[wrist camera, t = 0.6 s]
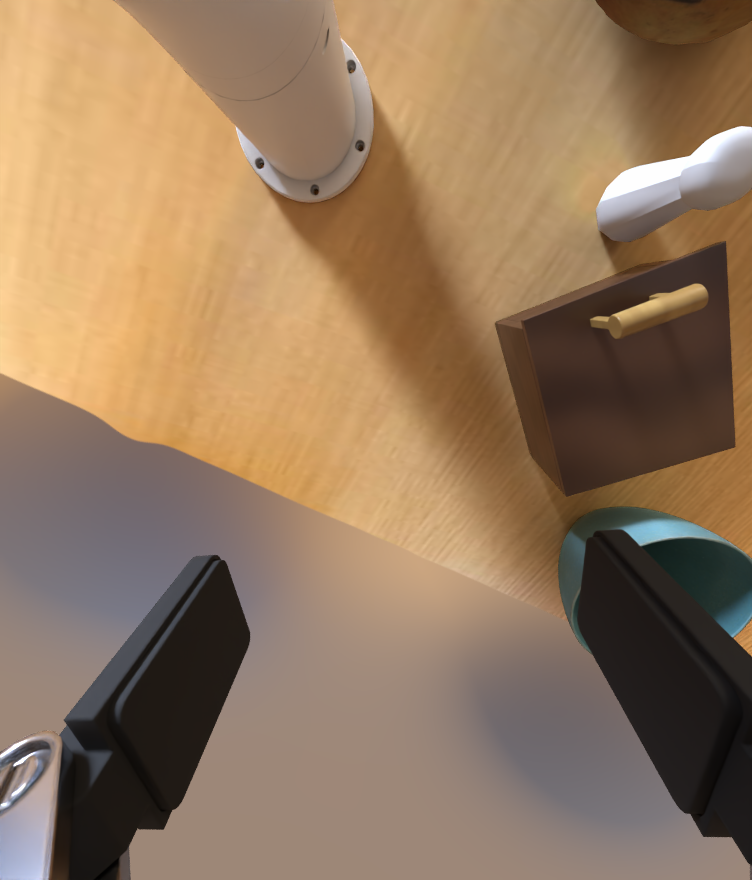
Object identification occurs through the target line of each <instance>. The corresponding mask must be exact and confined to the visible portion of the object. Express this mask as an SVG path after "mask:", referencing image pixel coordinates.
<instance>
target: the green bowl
mask: <svg viewBox="0 0 752 880" xmlns="http://www.w3.org/2000/svg"><path fill="white" fill-rule="evenodd" d="M615 529H622V530H624V531H626V532H627V533H628V534H629V535H630V536H631V537H632V538H633V539H634V540H635V541H636V542H637V543H638V544H639V545H640V546H641V547H642V548H643V549H644V550H645V551H646V552H647V553H648V554H649V555H650V556H651V557H652V558H653V559H654V560H655V561H656V562H657V563H658V564H659V565H660V566H661V567H662V568H663V569H664V570H665V571H666V572H667V573H668V574H669V575H670V576H671V577H672V578H673V579H674V580H675V581H676V582H677V583H678V584H679V585H680V586H681V587H682V588H683V589H684V590H685V591H686V592H687V593H688V594H689V595H690V596H691V597H692V598H693V599H694V600H695V601H696V602H697V603H698V604H699V605H700V606H701V607H702V608H703V609H704V610H705V611H706V612H707V613H708V614H709V615H710V616H711V617H712V618H713V619H714V620H715V621H716V622H717V623H718V624H719V625H720V626H721V627H722V628H723V629H724V630H725V631H726V632H727V633H728V634H729V635H730V636H731V637H732V638H734V637H735V636H736V635H737V634H738V633H740V632H741V631H742V630H743V629H744V628H745V627H746V625H747V624H748V623H749V622H750V621H751V619H752V559H751V558H750V557H749V556H748V555H747V554H746V553H745V552H743V551H742V550H741V549H739V548H738V547H736V546H735V545H733V544H732V543H730V542H729V541H727V540H725V539H724V538H722V537H720V536H718V535H717V534H715V533H713V532H711V531H709V530H707V529H705V528H703V527H701V526H698V525H696V524H694V523H692V522H689V521H687V520H684V519H681V518H679V517H676V516H673V515H670V514H667V513H663V512H659V511H655V510H650V509H645V508H638V507H609V508H603V509H598V510H595V511H592V512H590V513H587V514H586V515H584V516H582V517H581V518H580V519H578V520H577V521H576V522H575V523H574V524H573V526H572V527H571V528H570V530H569V532H568V533H567V535H566V537H565V539H564V542H563V544H562V547H561V551H560V556H559V564H558V579H559V588H560V594H561V598H562V602H563V606H564V610H565V613H566V616H567V618H568V621H569V624H570V626H571V628H572V630H573V632H574V634H575V636H576V638H577V640H578V641H579V643H580V644H581V645H582V646H583V647H584V648H585V649H586V650H587V651H588V652H589V653H591V651H590V649H589V647H588V645H587V644H586V642H585V640H584V638H583V636H582V634H581V632H580V630H579V626H578V621H577V615H578V607H579V598H580V590H581V581H582V573H583V564H584V556H585V547H586V541H587V539H588V538H589V537H593V534H594V532H595V531H599V530H615ZM591 654H592V653H591ZM592 655H593V654H592Z"/></svg>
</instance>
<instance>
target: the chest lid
mask: <svg viewBox="0 0 752 880" xmlns="http://www.w3.org/2000/svg"><path fill="white" fill-rule="evenodd" d="M521 325H522V329H523V333H524V337H525V341H526V345H527V349H528V353H529V357H530V361H531V365H532V369H533V373H534V377H535V382H536V386H537V390H538V394H539V398H540V402H541V406H542V410H543V414H544V418H545V422H546V426H547V430H548V434H549V438H550V443H551V447H552V451H553V455H554V459H555V463H556V467H557V471H558V475H559V479H560V483H561V487H562V491H563V494H564V495H565V496H566V497H568V496H571V495H574V494H578V493H581V492H585V491H588V490H591V489H595V488H598V487H602V486H605V485H608V484H612V483H615V482H619V481H622V480H625V479H629V478H632V477H636V476H639V475H642V474H646V473H649V472H653V471H656V470H659V469H663V468H666V467H670V466H673V465H676V464H680V463H683V462H687V461H690V460H693V459H697V458H700V457H704V456H707V455H711V454H714V453H717V452H721V451H724V450H728V449H731V448H734V447H735V428H734V406H733V384H732V362H731V340H730V318H729V297H728V275H727V253H726V241H723V242H718V243H715V244H712V245H710V246H707V247H705V248H702V249H700V250H697V251H694V252H692V253H689V254H687V255H684V256H682V257H679V258H677V259H674V260H672V261H669V262H667V263H664V264H661V265H659V266H656V267H654V268H651V269H649V270H646V271H644V272H641V273H639V274H636V275H634V276H631V277H628V278H626V279H623V280H621V281H618V282H616V283H613V284H611V285H608V286H606V287H603V288H601V289H598V290H595V291H593V292H590V293H588V294H585V295H583V296H580V297H578V298H575V299H573V300H570V301H567V302H565V303H562V304H560V305H557V306H555V307H552V308H550V309H547V310H545V311H542V312H540V313H537V314H534V315H532V316H529V317H527V318H524V319H522V320H521Z"/></svg>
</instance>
